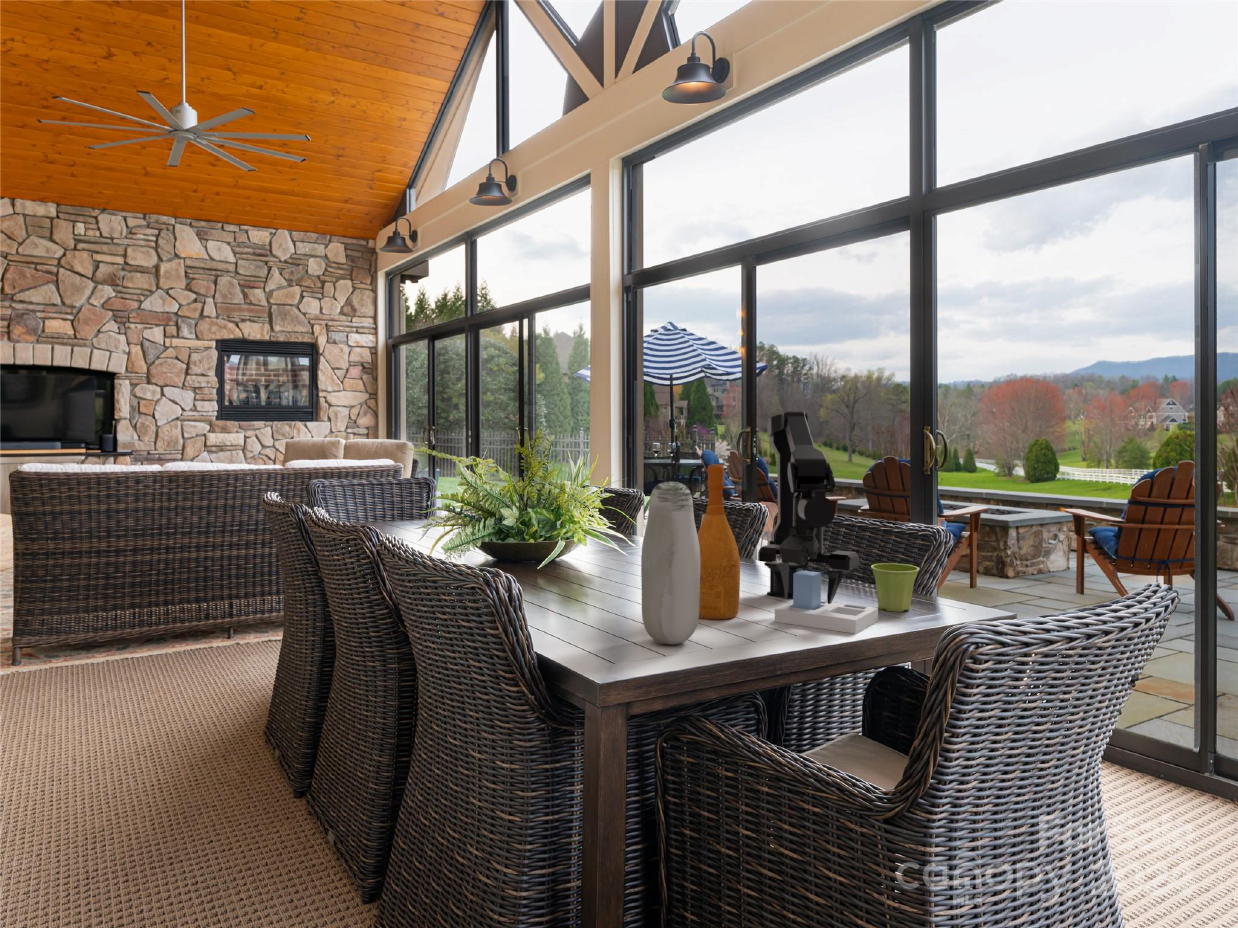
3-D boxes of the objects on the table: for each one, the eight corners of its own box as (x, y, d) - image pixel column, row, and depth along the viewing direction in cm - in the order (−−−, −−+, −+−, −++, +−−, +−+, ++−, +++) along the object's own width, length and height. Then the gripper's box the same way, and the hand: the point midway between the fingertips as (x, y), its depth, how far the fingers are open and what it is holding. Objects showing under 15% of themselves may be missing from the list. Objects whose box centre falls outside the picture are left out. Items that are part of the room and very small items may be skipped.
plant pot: (921, 614, 172) (922, 571, 171) (872, 612, 173) (873, 570, 173) (914, 605, 181) (915, 564, 180) (868, 603, 183) (869, 562, 182)
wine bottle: (743, 611, 174) (745, 463, 172) (734, 622, 164) (735, 465, 163) (696, 608, 177) (697, 462, 175) (684, 618, 168) (685, 464, 166)
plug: (792, 619, 167) (793, 573, 167) (802, 614, 171) (803, 569, 171) (812, 622, 165) (813, 575, 165) (822, 617, 169) (822, 572, 169)
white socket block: (774, 621, 165) (774, 607, 165) (799, 610, 175) (800, 597, 175) (855, 633, 156) (855, 618, 156) (877, 621, 166) (878, 607, 166)
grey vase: (704, 649, 145) (705, 483, 144) (643, 650, 144) (644, 483, 143) (694, 634, 155) (695, 479, 154) (638, 635, 154) (638, 479, 153)
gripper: (745, 521, 166) (744, 601, 167) (839, 528, 155) (837, 614, 156) (770, 516, 175) (769, 592, 176) (860, 522, 164) (859, 604, 165)
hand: (806, 600), depth 168 cm, fingers open, 9 cm apart
